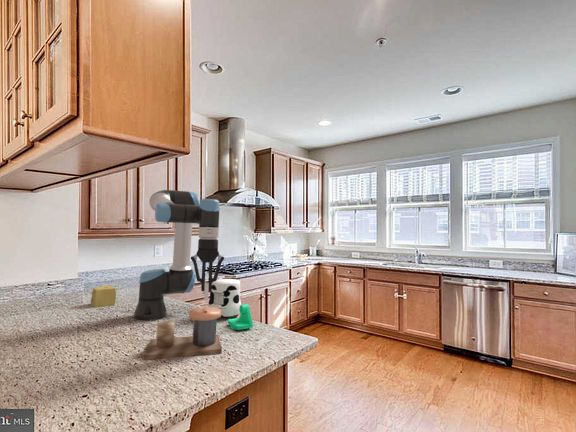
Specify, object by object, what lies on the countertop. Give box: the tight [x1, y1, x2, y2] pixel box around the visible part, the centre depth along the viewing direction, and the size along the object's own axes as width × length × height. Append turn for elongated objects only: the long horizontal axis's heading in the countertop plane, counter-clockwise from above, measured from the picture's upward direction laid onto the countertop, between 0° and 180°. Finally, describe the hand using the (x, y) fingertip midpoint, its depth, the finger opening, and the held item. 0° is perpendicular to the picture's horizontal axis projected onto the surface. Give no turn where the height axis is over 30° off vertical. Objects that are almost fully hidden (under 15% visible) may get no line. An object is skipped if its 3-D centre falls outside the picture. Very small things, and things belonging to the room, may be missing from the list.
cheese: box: [90, 285, 117, 308], centre depth 178 cm, size 10×11×10 cm
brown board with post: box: [143, 320, 223, 360], centre depth 118 cm, size 26×16×10 cm, turn 107°
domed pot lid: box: [188, 306, 221, 321], centre depth 120 cm, size 12×12×5 cm
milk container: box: [207, 278, 242, 319], centre depth 163 cm, size 17×17×18 cm
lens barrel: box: [192, 319, 217, 347], centre depth 120 cm, size 8×8×10 cm
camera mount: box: [227, 303, 254, 331], centre depth 145 cm, size 12×8×10 cm, turn 32°
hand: (205, 299), depth 120 cm, fingers closed
